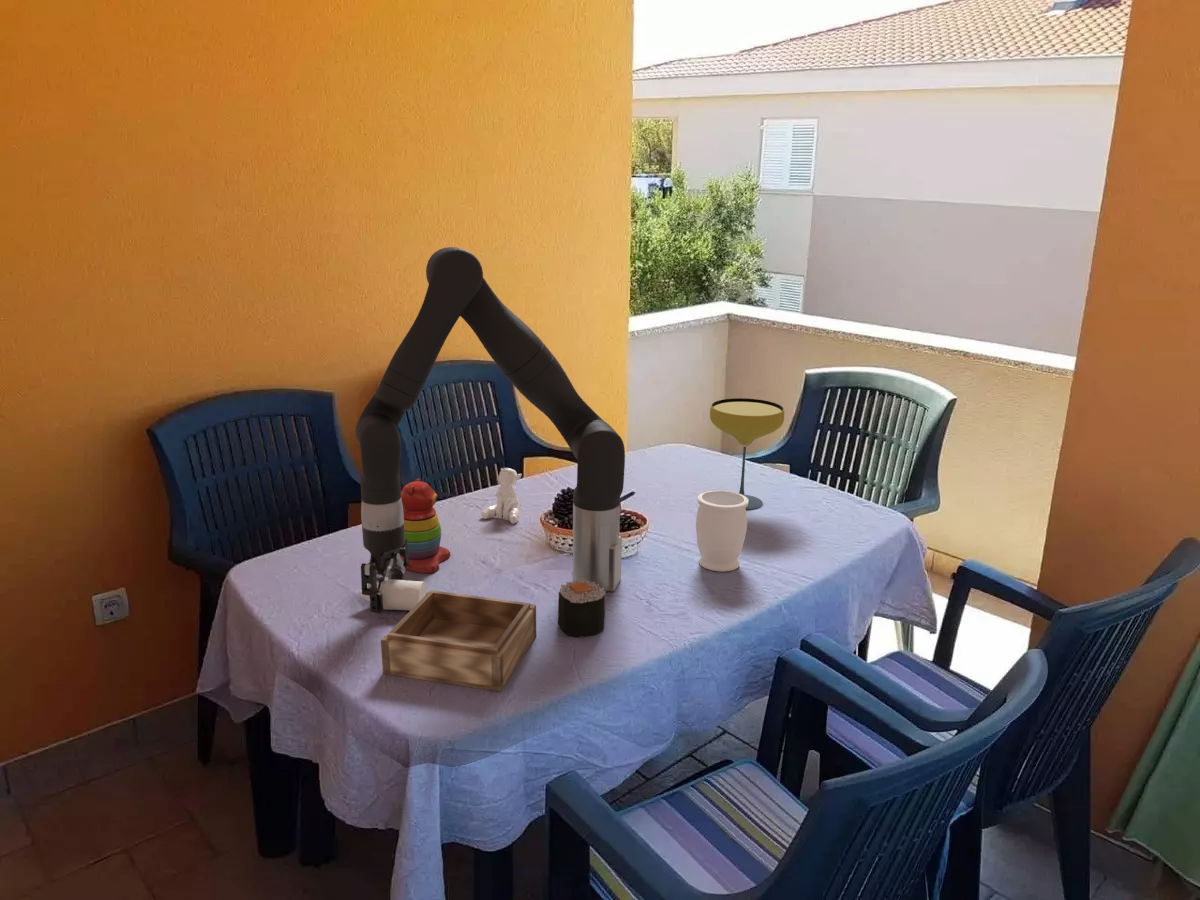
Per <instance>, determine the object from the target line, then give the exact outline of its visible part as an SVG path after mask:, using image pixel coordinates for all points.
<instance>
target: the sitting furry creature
mask: <svg viewBox="0 0 1200 900" xmlns="http://www.w3.org/2000/svg"><path fill="white" fill-rule="evenodd" d="M522 475H523V474H522V473H517V471H516V470H515V469H512V468H509V467H501V468H500V471H499V475H498V476H497V478H498V483H499V485H500V486H498V488H497V489H498V490H497V491H496V494H495V497H496V498H497V500H496V502H495V504H494V505H491V506H488V507H486V508H484V509H483V510H482V511H481V512H480V515H481V518H483V519H484V520H488V519H499V520H501V519H503V520H504V521H509V522H510V523H511V525H512V524H513V525H515V524H517V522H519V519H520V511H521V503H520V500H519V497H518V495H517V494H518V493H517V489H516V488H515V485H516V484H517V482H518V480H520V479H521V478H522Z"/></svg>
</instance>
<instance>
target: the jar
mask: <svg viewBox="0 0 1200 900" xmlns="http://www.w3.org/2000/svg"><path fill="white" fill-rule="evenodd" d="M744 495H745V494H744ZM744 495H742V494H739V492H735V491H731V490H721V489H720V490H717V489H716V490H715V489H714V490H708V491H704V492H700V494H698V496H697V500H696V501H697V504H698V505H699V506H698V507H697V508H698V509H697V512H696V516H695V517H696V518H695V520H696V521H695V533H696V539H697V540H696V541H697V548H698V551H699V554H700V555H701V556H700V557H699V558H698V562H699V565H700V566H701V567H702V568H704V569H707V570H709V571H714V572H721V573H723V572H731V571H734V570H736V569H738V568H739V566H740V561H739V559H738V558H739V557H740V556H741V553H742V550H743V548H744V543H745V540H746V535H747V529H748V515H747V510H746V509H745V508H746V507H747V506H748V501H749V500H748V498H747V497H746V496H744Z"/></svg>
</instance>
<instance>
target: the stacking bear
mask: <svg viewBox="0 0 1200 900" xmlns="http://www.w3.org/2000/svg"><path fill="white" fill-rule="evenodd" d="M401 499H402V504H403V512H404V530H405V539H407V542H408V554H409V566H408V567H405V570H408V571H411V572H416V573H423V574H432V573H435V572H437V571H438V570H439V569H440V566H439V564H440V563H441V562H442V561H446V560H448V559H449V558H450V557H451V551H450V550H449V549H448V548H447V547H445V546H440V545H441V539H442V527H441V523H440V519H439V517H438V513H437V510H436V508H434V506H435V504H436V503H437V500H438V494H437V493H436V491H435V490H434V489H433V488H432V487H431V486H430V485H429V484H428V483H427V482H424V481H422V480H421V478H416V479H415V480H414V481H412V482H408V483H407V484H406V485H404V486H403V487H402V488H401ZM400 558H401V559H402V560H404V557H403V556H400Z"/></svg>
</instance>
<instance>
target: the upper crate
mask: <svg viewBox="0 0 1200 900" xmlns="http://www.w3.org/2000/svg"><path fill="white" fill-rule="evenodd" d="M429 591H430V592H429V593H428V594H427V595H426V596H425V597H424V598H423V599H422V600H421V601H420V602H419V603H418V604H417V605H416V606H415V607H414V608H413V609H412V610H411V611H409V612H408V613H406V614H405V616H404V617H403V618H401V620H400V621H398V622H397V624H396V625H395V626H394V627H395V628H394V627H393V628H394V629H393V628H392V629H393V630H392V629H391V630H392V631H391V630H390V631H391V632H390V631H389V632H390V633H389V632H388V633H389V634H388V633H387V634H388V635H387V634H386V635H387V637H388V638H390V639H391V640H397V641H403V642H410V643H417V644H424V645H431V646H437V647H444V648H451V649H458V650H465V651H471V652H478V653H485V654H497V653H498V652H499V651H500V650H501V648H502V647H503V646H504V644H505V643H506V641H507V640H508V638H509V637H510V636H511V634H512V633H513V631H514V630H515V628H516V627H517V626H518V624H519V623H520V621H521V620H522V619H523V617H524V616H525V614H526V613H527V611H528V610H529V608H530V604H531V603H530V602H523V601H516V600H509V599H508V600H507V599H501V598H491V597H484V596H477V595H472V594H471V595H468V594H463V593H454V592H447V591H446V592H445V591H439V590H429Z"/></svg>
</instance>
